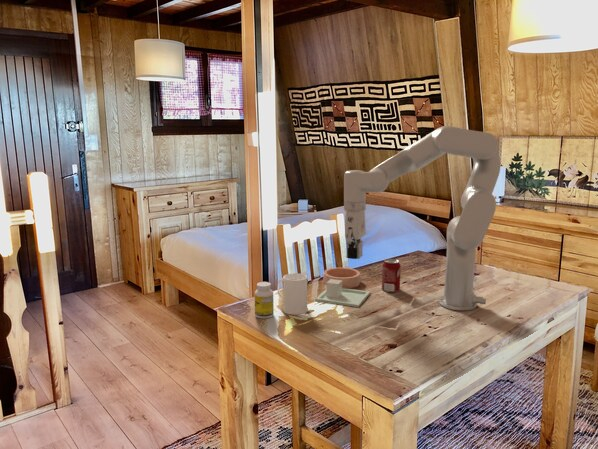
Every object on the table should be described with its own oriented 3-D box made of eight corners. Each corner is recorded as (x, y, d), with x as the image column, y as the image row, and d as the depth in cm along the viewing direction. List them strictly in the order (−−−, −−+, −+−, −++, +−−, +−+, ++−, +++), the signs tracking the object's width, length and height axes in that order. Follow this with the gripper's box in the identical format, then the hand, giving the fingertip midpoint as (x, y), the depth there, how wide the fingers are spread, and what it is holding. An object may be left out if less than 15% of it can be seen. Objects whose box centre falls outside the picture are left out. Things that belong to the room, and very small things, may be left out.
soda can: (394, 295, 184) (395, 264, 182) (378, 291, 188) (379, 261, 186) (402, 290, 190) (404, 260, 187) (386, 286, 194) (387, 257, 191)
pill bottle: (253, 313, 167) (252, 281, 165) (271, 311, 169) (270, 280, 166) (256, 320, 161) (256, 287, 159) (275, 318, 163) (275, 285, 161)
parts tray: (370, 294, 185) (370, 291, 184) (358, 308, 171) (358, 305, 171) (329, 289, 191) (329, 286, 191) (315, 302, 177) (315, 298, 177)
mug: (270, 308, 171) (270, 275, 169) (287, 301, 178) (287, 269, 175) (296, 317, 164) (296, 282, 161) (312, 309, 170) (313, 276, 168)
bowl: (364, 280, 201) (364, 269, 200) (353, 291, 188) (353, 280, 187) (330, 276, 207) (330, 265, 206) (318, 286, 194) (318, 275, 193)
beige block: (341, 294, 183) (342, 280, 182) (338, 298, 179) (338, 284, 178) (330, 293, 185) (330, 279, 184) (326, 296, 181) (326, 282, 180)
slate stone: (362, 255, 177) (362, 240, 176) (358, 258, 173) (358, 243, 172) (350, 254, 179) (350, 239, 178) (346, 257, 175) (346, 242, 174)
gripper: (358, 210, 164) (357, 263, 167) (371, 202, 179) (371, 251, 182) (336, 209, 166) (336, 261, 170) (351, 201, 182) (351, 250, 185)
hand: (354, 256), depth 176 cm, fingers closed on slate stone, 4 cm apart
